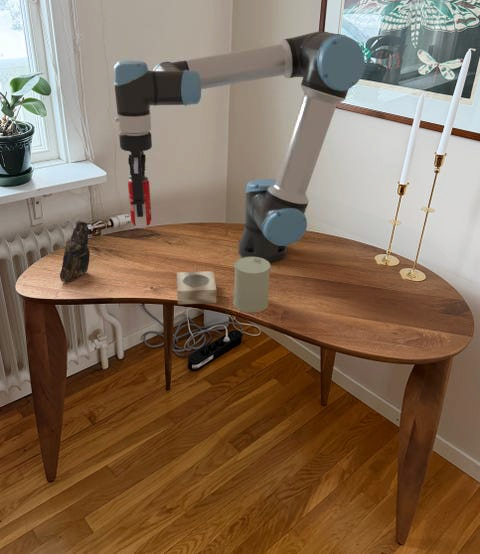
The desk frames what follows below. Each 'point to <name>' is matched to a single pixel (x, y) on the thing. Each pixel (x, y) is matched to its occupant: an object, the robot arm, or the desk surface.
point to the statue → (76, 254)
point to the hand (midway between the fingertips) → (141, 222)
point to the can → (251, 284)
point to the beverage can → (146, 199)
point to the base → (196, 287)
